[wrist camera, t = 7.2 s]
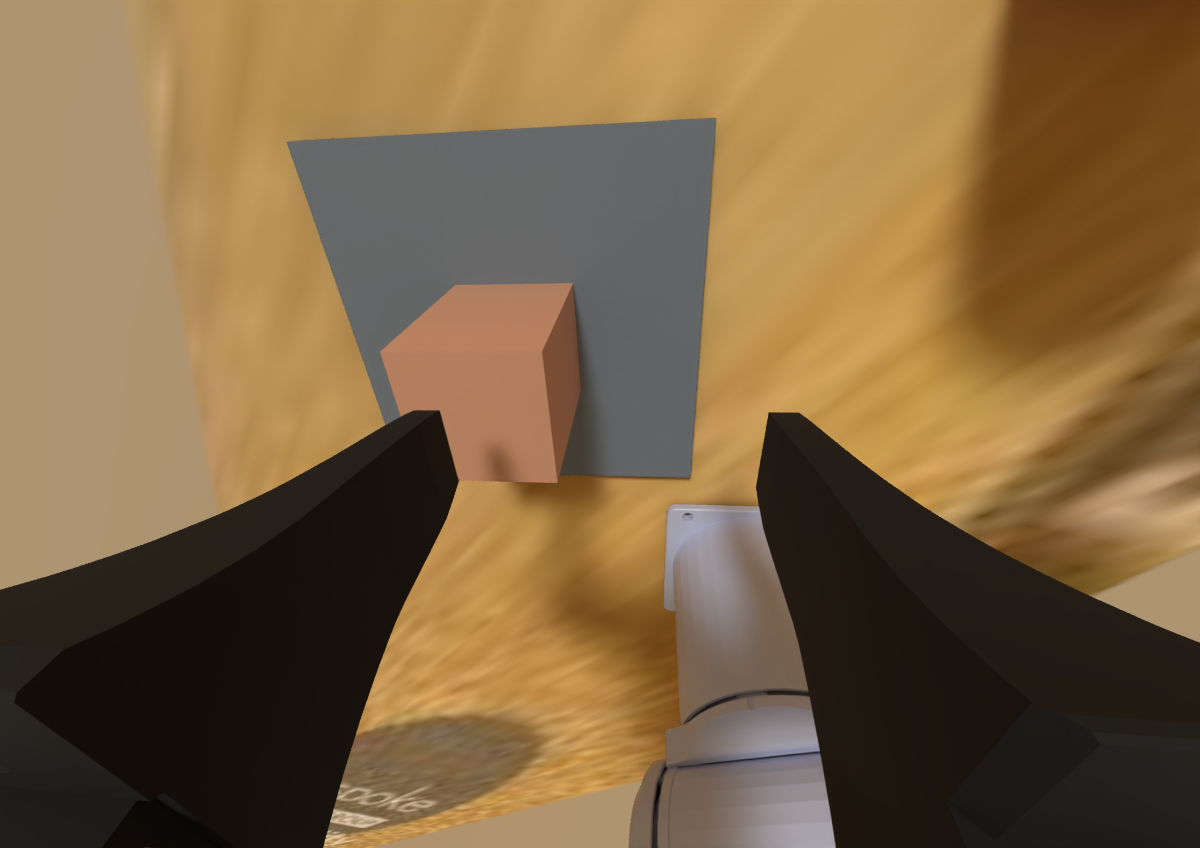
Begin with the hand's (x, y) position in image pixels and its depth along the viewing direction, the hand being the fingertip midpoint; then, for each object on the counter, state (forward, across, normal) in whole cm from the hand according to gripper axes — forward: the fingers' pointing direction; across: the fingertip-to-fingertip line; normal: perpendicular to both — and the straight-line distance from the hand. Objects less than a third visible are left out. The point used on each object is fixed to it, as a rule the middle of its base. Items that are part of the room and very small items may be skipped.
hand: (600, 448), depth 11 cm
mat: (+9, +4, +1) cm, 10 cm away
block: (+9, +4, +1) cm, 10 cm away
